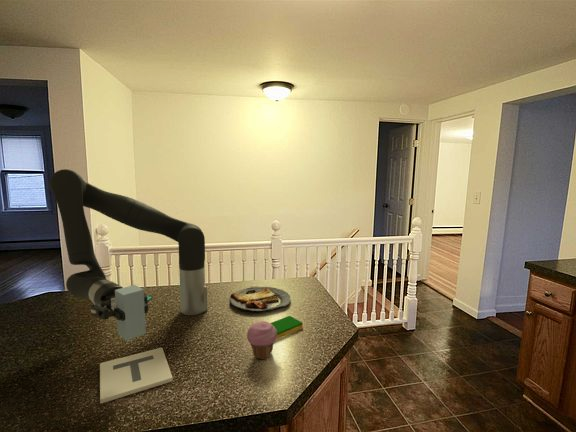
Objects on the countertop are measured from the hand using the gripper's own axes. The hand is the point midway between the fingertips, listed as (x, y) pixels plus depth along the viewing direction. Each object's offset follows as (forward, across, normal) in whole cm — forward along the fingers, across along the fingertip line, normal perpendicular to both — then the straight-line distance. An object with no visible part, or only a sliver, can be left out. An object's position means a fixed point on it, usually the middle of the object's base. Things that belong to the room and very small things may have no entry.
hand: (135, 313), depth 80 cm
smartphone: (-51, +21, +19) cm, 58 cm away
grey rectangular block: (-3, 0, +6) cm, 7 cm away
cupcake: (+17, +28, +18) cm, 38 cm away
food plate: (-10, +55, +18) cm, 59 cm away
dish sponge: (+12, +43, +18) cm, 48 cm away
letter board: (-2, 0, +18) cm, 18 cm away
